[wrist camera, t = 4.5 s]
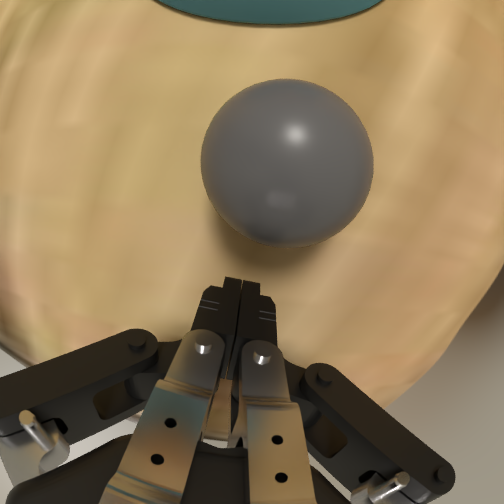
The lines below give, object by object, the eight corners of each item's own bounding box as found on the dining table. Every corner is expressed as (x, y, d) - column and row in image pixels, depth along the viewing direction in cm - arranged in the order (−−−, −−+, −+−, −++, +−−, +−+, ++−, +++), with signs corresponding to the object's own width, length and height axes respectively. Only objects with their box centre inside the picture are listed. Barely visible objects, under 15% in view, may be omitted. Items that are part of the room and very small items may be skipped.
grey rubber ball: (139, 203, 8) (204, 106, 10) (261, 287, 11) (286, 185, 13) (290, 93, 4) (311, 30, 7) (405, 262, 7) (390, 144, 10)
